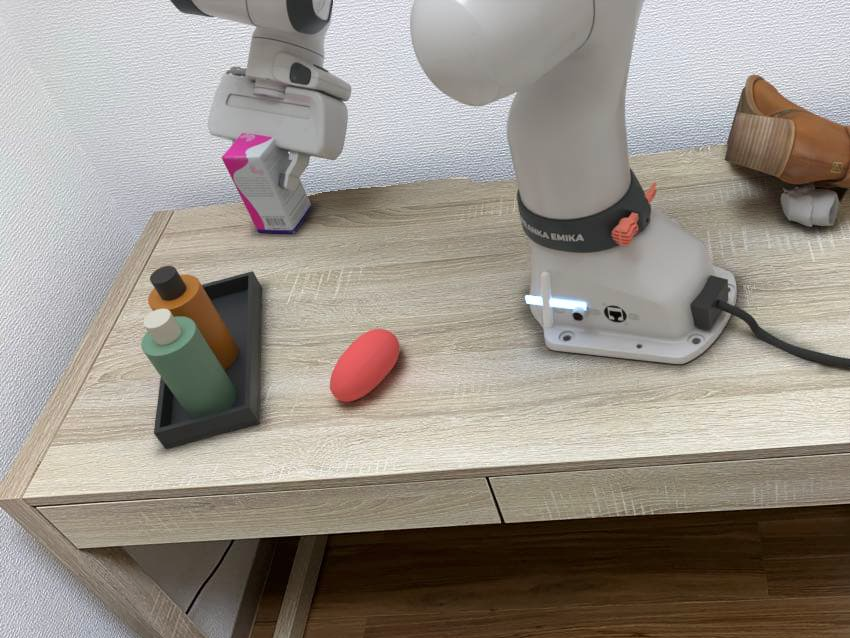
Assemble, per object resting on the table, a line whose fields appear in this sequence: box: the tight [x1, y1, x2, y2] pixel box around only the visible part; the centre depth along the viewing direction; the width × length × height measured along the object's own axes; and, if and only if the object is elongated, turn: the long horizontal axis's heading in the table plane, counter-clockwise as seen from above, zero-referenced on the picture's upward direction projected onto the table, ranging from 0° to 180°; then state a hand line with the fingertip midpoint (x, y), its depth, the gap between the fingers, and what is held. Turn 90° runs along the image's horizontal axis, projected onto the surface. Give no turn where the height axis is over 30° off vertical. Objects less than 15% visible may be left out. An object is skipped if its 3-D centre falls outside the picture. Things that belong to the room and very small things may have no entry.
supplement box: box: [221, 133, 313, 234], centre depth 116 cm, size 6×6×12 cm
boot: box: [724, 73, 850, 189], centre depth 105 cm, size 9×24×19 cm
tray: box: [153, 270, 263, 450], centre depth 102 cm, size 23×10×3 cm, turn 12°
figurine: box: [780, 183, 841, 228], centre depth 101 cm, size 4×8×5 cm
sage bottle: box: [140, 309, 237, 419], centre depth 93 cm, size 6×6×12 cm
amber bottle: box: [147, 265, 239, 370], centre depth 98 cm, size 6×6×12 cm
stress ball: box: [329, 328, 401, 403], centre depth 95 cm, size 5×9×6 cm
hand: (264, 184), depth 115 cm, fingers closed on supplement box, 6 cm apart
